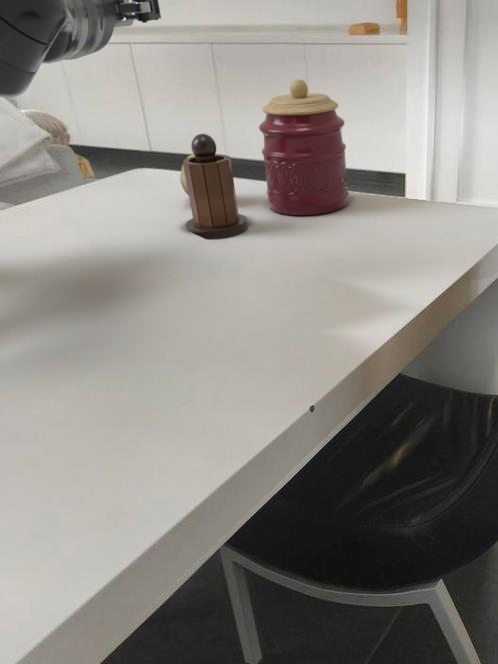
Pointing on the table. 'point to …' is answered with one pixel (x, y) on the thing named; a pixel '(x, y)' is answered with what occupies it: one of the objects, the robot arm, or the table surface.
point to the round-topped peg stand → (205, 153)
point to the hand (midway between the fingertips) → (106, 6)
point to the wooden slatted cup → (211, 192)
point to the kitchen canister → (304, 153)
